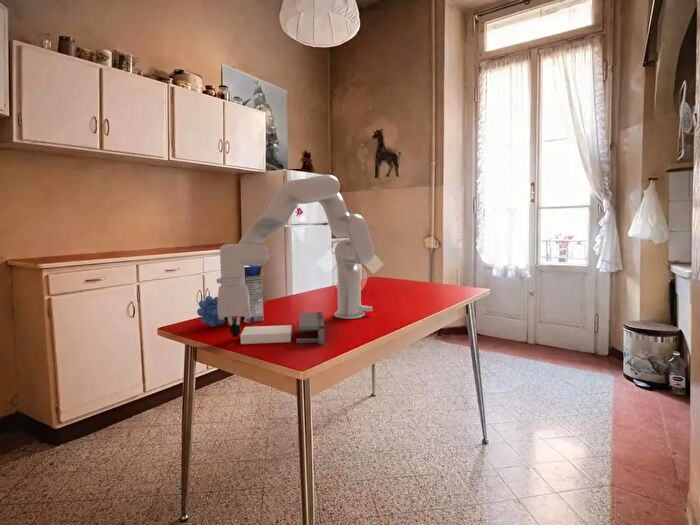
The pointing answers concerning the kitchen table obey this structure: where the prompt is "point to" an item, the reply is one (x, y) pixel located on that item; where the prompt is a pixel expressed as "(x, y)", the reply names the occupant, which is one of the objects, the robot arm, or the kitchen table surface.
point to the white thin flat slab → (266, 334)
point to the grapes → (209, 311)
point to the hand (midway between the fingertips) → (235, 335)
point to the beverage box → (254, 292)
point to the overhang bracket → (312, 327)
